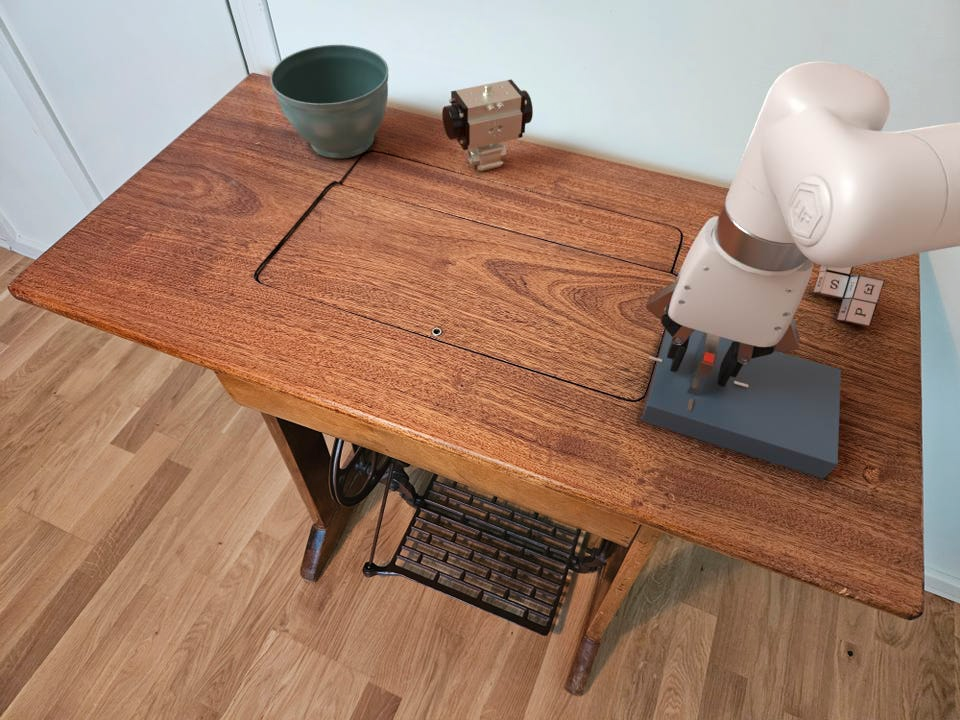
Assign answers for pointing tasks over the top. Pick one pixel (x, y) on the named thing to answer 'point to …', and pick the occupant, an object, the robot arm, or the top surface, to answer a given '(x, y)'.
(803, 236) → the robot arm
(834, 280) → the building blocks
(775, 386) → the blue-grey rectangular block
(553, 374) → the top surface
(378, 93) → the flower pot
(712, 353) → the lever
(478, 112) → the pneumatic valve
